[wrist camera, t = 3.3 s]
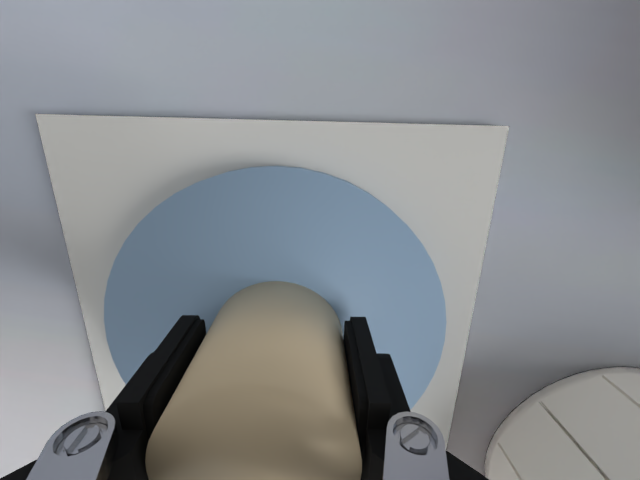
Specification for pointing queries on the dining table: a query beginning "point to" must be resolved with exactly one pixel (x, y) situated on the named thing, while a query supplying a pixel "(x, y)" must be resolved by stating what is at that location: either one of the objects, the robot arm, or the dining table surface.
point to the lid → (271, 319)
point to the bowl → (572, 431)
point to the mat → (277, 150)
